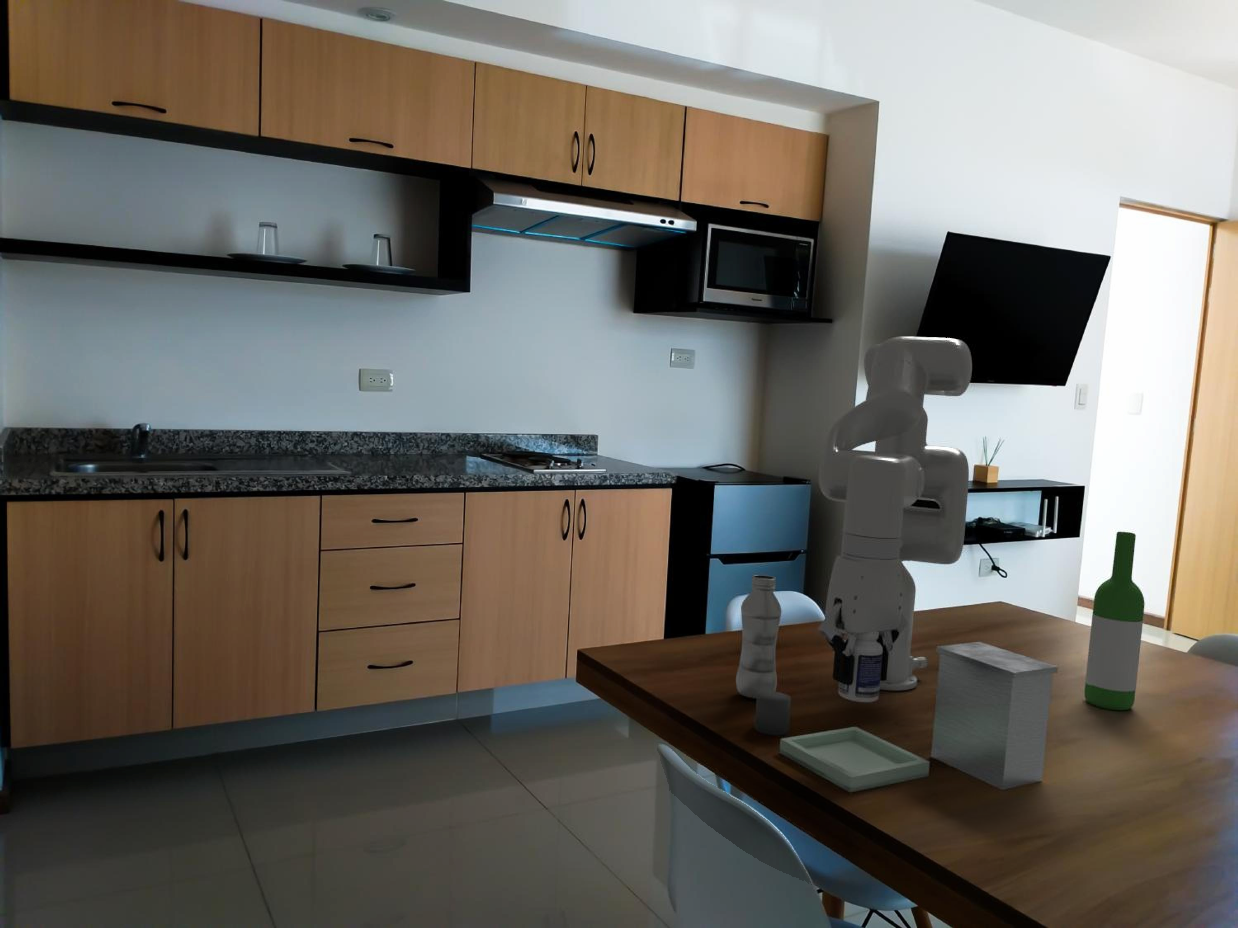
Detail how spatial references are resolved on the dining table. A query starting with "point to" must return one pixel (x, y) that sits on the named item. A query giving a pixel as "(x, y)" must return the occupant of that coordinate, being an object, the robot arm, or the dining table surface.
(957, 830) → the dining table surface
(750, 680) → the plastic bottle
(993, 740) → the metal box
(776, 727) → the stopper
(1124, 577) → the wine bottle
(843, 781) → the tray
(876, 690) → the pill bottle
